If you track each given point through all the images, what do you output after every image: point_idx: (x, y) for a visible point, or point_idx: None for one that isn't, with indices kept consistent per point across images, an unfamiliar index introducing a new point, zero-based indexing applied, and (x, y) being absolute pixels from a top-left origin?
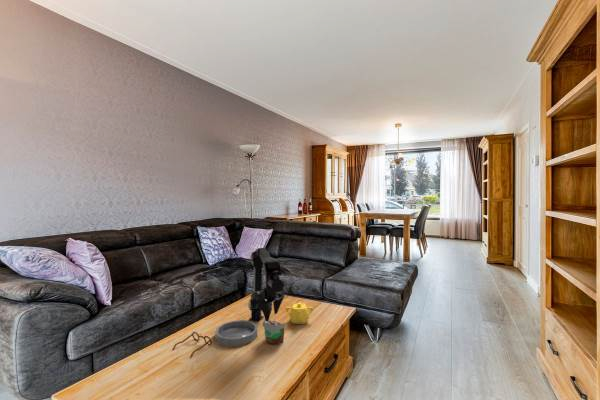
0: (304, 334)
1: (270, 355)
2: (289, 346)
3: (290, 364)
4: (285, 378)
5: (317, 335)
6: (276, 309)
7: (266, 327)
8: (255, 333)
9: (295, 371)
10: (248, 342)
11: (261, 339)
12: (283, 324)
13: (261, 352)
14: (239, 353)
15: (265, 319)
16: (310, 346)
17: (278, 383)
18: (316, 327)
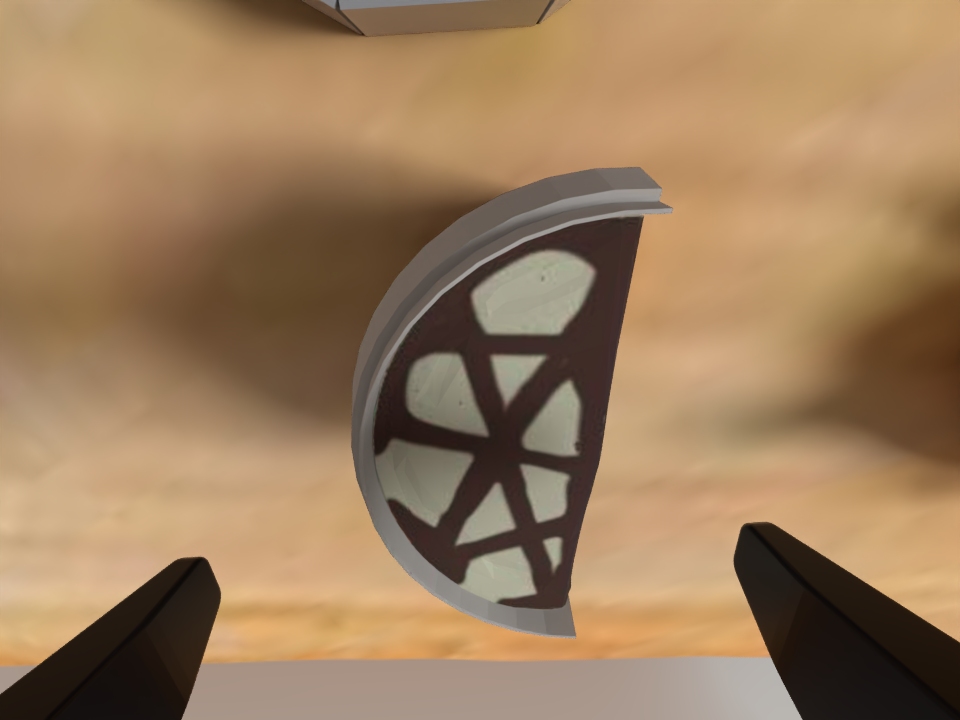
0: (749, 513)
1: (246, 422)
2: None
3: (242, 596)
4: None
5: None
6: (834, 709)
7: (353, 384)
8: (480, 10)
9: None
10: (307, 2)
11: (490, 141)
12: (531, 615)
13: (232, 317)
14: (19, 64)
15: (129, 598)
16: None
17: (8, 618)
18: (916, 547)
